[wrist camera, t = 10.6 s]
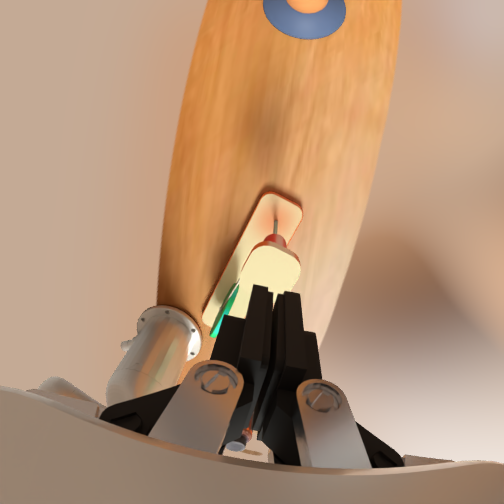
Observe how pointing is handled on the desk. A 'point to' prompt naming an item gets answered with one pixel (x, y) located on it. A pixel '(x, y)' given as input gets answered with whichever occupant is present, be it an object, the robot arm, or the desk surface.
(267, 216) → the crank mechanism
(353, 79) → the desk surface
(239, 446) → the supplement bottle
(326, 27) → the mark
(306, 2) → the ball
